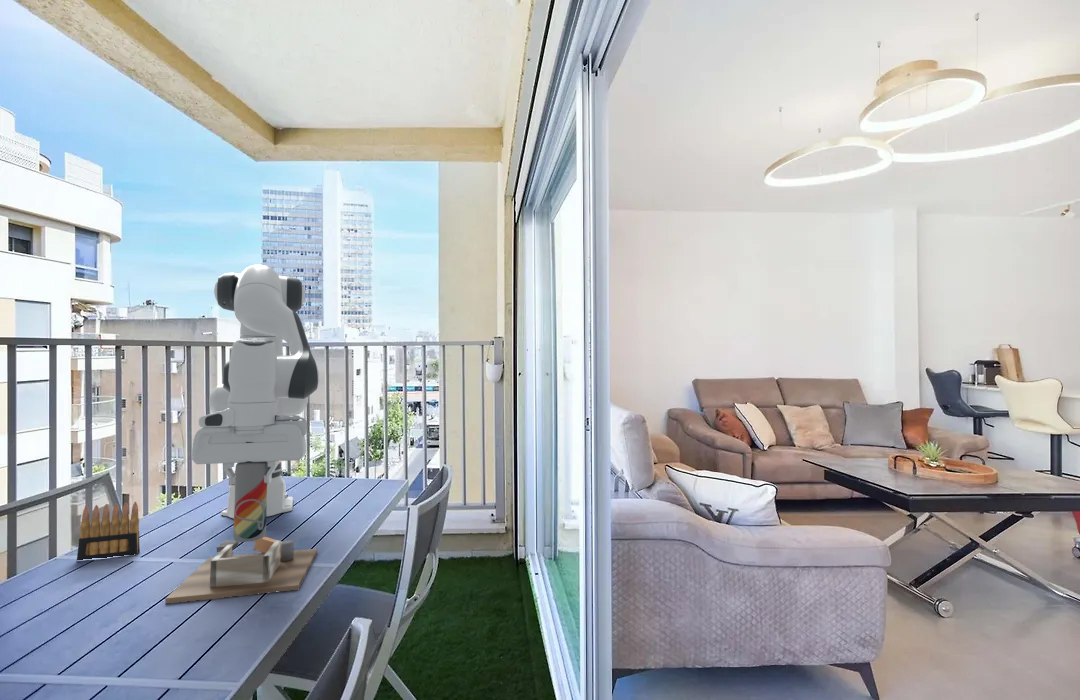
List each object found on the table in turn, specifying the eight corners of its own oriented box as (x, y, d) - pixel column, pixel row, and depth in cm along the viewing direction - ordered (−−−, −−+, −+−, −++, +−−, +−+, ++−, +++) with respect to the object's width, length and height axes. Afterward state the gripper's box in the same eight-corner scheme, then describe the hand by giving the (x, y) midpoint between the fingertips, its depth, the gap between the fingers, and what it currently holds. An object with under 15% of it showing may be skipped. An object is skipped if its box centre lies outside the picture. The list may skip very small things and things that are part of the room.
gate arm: (296, 558, 106) (296, 541, 107) (285, 561, 104) (285, 545, 105) (262, 547, 113) (262, 532, 113) (251, 550, 111) (252, 535, 111)
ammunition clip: (139, 552, 113) (141, 500, 114) (136, 555, 111) (138, 502, 112) (80, 559, 109) (82, 505, 109) (76, 562, 107) (78, 507, 108)
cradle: (209, 562, 107) (210, 534, 108) (317, 552, 113) (317, 526, 113) (165, 604, 88) (166, 570, 88) (298, 590, 94) (299, 558, 94)
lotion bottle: (252, 543, 96) (254, 441, 97) (226, 541, 97) (229, 440, 98) (272, 533, 102) (274, 437, 103) (247, 532, 103) (250, 436, 103)
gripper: (310, 413, 106) (308, 478, 105) (202, 415, 101) (200, 483, 100) (304, 416, 100) (302, 484, 99) (189, 418, 94) (186, 490, 94)
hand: (250, 484), depth 100 cm, fingers closed on lotion bottle, 4 cm apart
